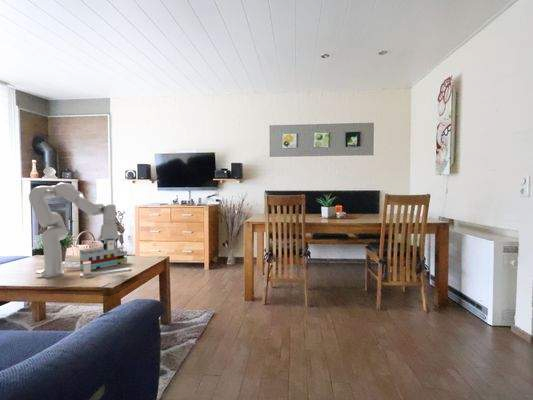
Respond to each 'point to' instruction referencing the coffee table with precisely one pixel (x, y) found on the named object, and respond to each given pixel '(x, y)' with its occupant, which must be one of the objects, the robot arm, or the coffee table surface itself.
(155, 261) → the coffee table surface
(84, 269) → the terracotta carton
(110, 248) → the teal carton
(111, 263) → the toy vehicle
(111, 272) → the shelf board
